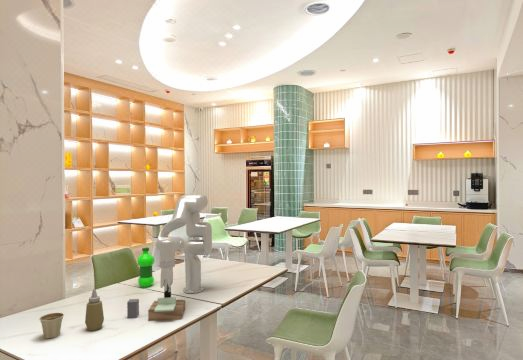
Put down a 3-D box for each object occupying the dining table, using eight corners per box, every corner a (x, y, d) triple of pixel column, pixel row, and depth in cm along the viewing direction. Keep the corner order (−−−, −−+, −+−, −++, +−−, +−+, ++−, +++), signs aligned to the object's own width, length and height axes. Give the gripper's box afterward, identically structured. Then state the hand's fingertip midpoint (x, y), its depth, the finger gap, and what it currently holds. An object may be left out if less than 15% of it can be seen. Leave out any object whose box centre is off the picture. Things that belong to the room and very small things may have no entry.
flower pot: (68, 331, 161) (68, 312, 161) (57, 340, 152) (56, 320, 152) (47, 331, 161) (47, 312, 161) (34, 340, 151) (34, 320, 151)
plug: (130, 314, 180) (129, 299, 180) (139, 314, 180) (138, 298, 180) (127, 318, 175) (127, 302, 175) (136, 317, 176) (136, 301, 176)
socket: (154, 310, 186) (154, 300, 186) (185, 308, 187) (185, 299, 187) (148, 320, 172) (148, 310, 172) (181, 319, 173) (181, 308, 173)
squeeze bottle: (83, 333, 159) (82, 293, 159) (87, 326, 166) (86, 287, 167) (102, 330, 161) (102, 291, 161) (105, 323, 169) (105, 286, 169)
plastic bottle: (156, 283, 235) (156, 246, 235) (150, 288, 224) (149, 249, 225) (142, 283, 236) (141, 246, 236) (135, 288, 225) (134, 249, 226)
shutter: (158, 305, 178) (158, 297, 178) (176, 304, 179) (176, 297, 179) (154, 311, 169) (154, 303, 169) (173, 310, 170) (173, 303, 170)
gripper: (162, 260, 188) (163, 295, 188) (156, 267, 173) (157, 304, 173) (176, 260, 188) (177, 294, 188) (172, 266, 174) (172, 304, 173)
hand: (167, 299), depth 180 cm, fingers closed
